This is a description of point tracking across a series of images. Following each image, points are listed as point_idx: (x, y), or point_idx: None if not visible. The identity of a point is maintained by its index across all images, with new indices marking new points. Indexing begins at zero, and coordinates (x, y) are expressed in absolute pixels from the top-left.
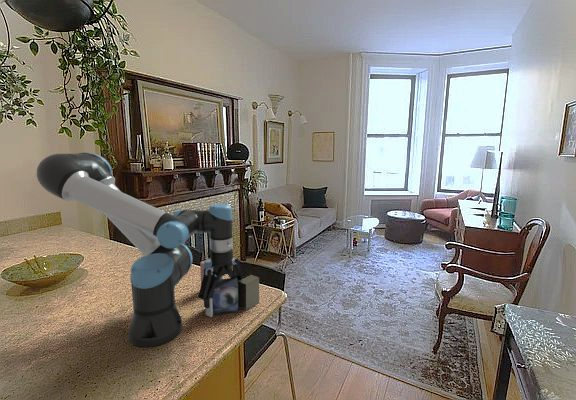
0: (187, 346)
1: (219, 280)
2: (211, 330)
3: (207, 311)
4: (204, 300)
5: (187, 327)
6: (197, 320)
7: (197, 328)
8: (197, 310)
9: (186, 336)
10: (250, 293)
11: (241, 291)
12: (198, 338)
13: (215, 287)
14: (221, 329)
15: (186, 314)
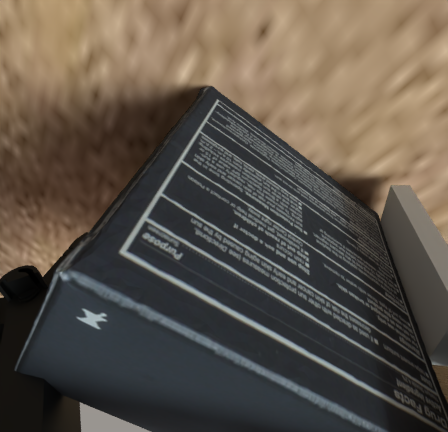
0: (11, 261)
1: (238, 403)
2: None
3: None
4: (47, 283)
5: (24, 175)
6: (85, 165)
7: (67, 216)
8: (124, 57)
9: (13, 221)
10: None
11: None
12: (55, 261)
13: (102, 410)
14: None
15: (35, 40)
